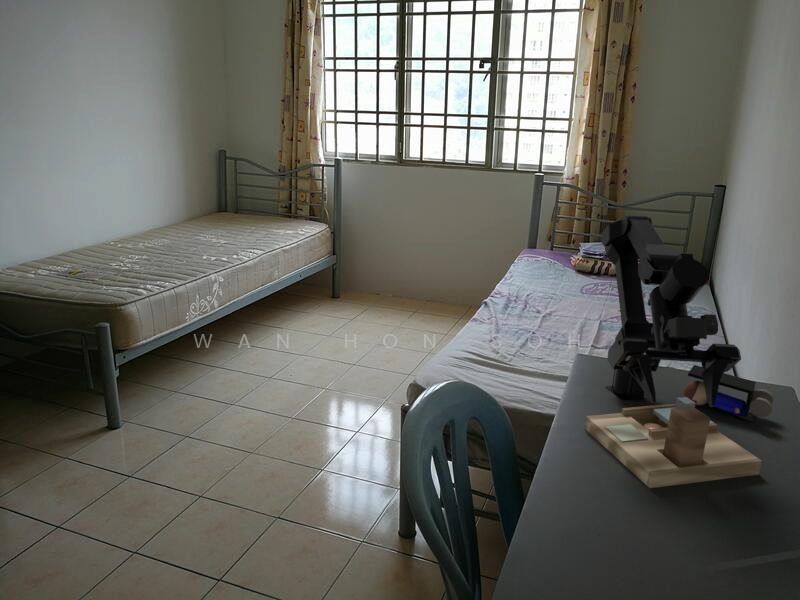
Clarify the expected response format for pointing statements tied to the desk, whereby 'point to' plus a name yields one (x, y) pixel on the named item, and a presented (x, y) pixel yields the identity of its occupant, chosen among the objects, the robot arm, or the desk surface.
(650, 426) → the ball
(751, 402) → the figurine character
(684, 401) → the lid
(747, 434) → the desk surface
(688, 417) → the peg
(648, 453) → the puzzle board
